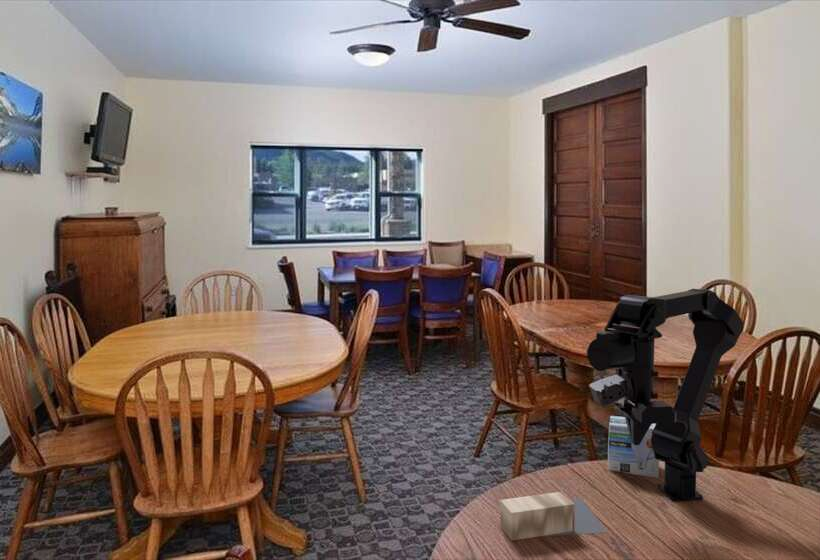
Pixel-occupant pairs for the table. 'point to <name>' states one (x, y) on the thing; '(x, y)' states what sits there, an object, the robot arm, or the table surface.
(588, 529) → the slate mat
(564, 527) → the beech block
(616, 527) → the table surface
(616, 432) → the light bulb box
